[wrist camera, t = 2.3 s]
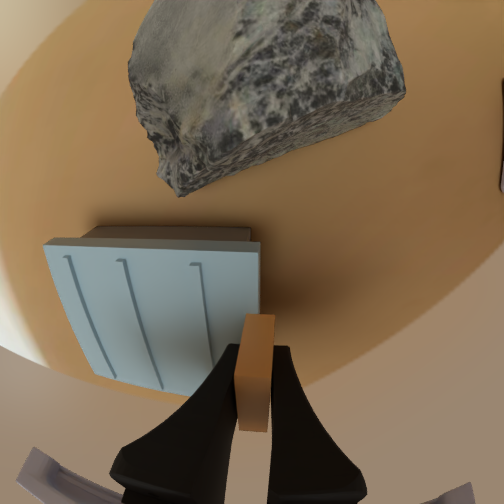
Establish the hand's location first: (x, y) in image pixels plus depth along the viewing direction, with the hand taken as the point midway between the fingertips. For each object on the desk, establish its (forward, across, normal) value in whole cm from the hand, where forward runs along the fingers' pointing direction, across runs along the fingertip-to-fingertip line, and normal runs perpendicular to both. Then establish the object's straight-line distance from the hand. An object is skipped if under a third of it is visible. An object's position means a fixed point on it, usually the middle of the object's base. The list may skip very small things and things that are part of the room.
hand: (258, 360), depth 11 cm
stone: (+6, 0, -12) cm, 13 cm away
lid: (+2, +5, 0) cm, 6 cm away
